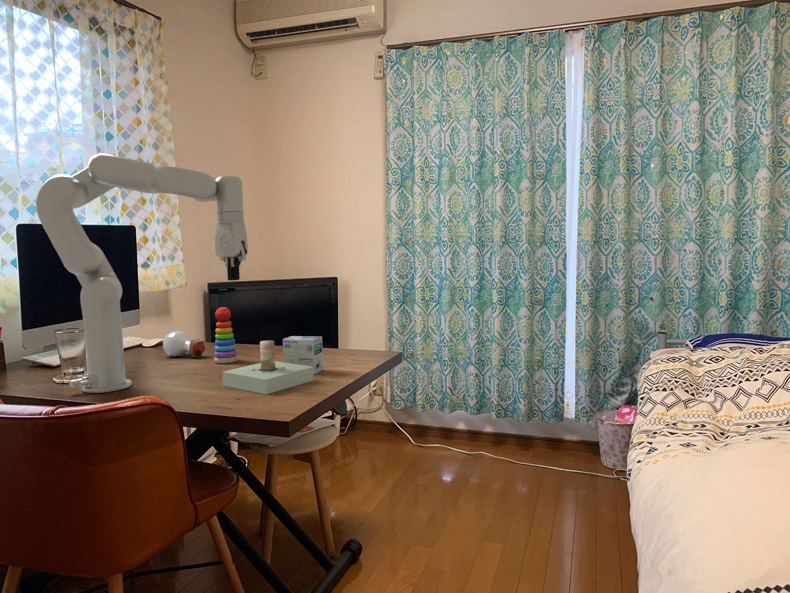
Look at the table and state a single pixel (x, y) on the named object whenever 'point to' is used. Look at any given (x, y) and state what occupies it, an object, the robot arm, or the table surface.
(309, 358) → the light bulb box
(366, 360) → the table surface
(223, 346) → the stacking toy
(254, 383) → the board
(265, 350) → the peg
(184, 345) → the potion bottle
